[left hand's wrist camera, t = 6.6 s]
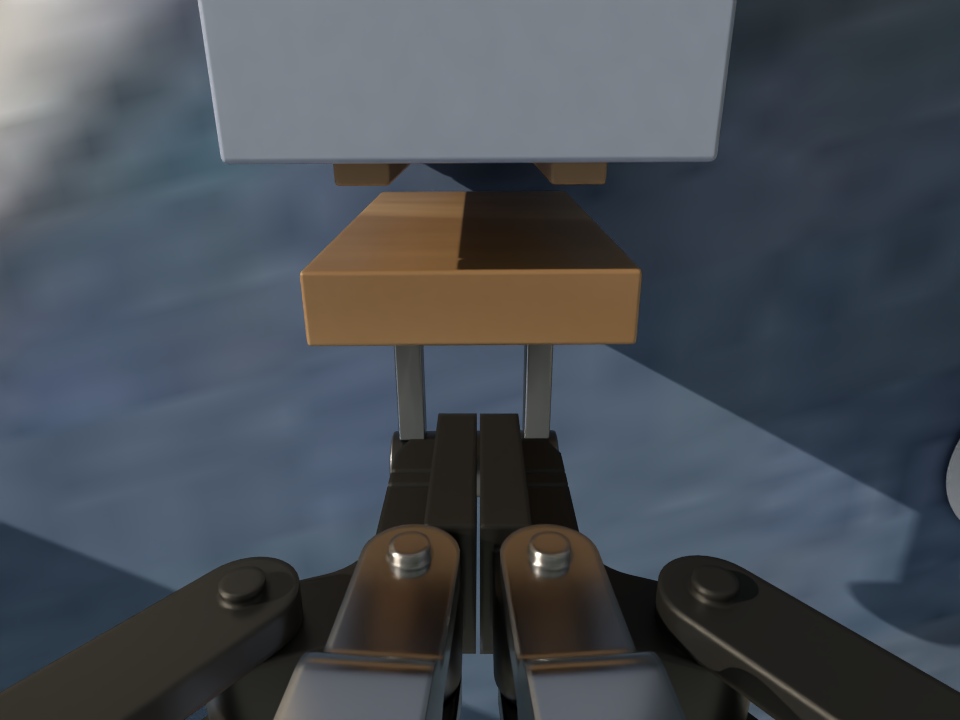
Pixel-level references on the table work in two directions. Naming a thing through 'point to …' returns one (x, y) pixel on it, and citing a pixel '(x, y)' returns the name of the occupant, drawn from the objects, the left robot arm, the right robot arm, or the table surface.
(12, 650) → the table surface
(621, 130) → the cabinet
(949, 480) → the coffee cup
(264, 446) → the table surface
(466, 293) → the drawer
